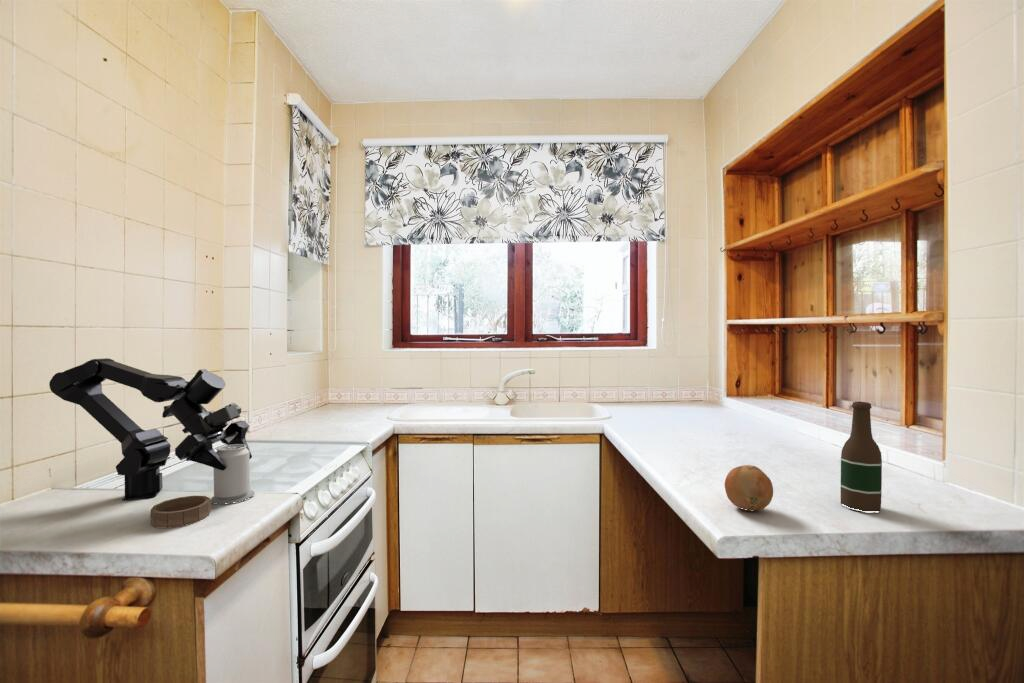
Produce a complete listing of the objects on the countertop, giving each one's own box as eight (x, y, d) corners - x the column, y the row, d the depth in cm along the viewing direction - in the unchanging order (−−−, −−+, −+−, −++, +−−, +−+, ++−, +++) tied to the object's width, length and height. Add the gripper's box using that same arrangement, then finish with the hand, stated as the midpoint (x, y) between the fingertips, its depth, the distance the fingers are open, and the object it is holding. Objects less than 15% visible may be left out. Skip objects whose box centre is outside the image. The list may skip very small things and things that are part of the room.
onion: (760, 502, 108) (760, 459, 108) (782, 518, 98) (782, 472, 98) (717, 501, 109) (718, 459, 109) (735, 517, 99) (735, 471, 99)
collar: (144, 531, 93) (144, 516, 93) (159, 513, 102) (158, 499, 102) (205, 522, 97) (205, 508, 97) (213, 506, 106) (213, 493, 106)
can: (247, 498, 109) (246, 448, 109) (210, 502, 107) (209, 451, 107) (252, 488, 116) (252, 441, 116) (218, 492, 114) (217, 444, 114)
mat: (207, 507, 106) (207, 504, 106) (214, 494, 114) (214, 492, 114) (252, 501, 109) (252, 498, 109) (256, 489, 118) (256, 487, 118)
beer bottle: (874, 503, 107) (875, 400, 107) (888, 516, 100) (890, 405, 99) (834, 500, 110) (835, 399, 109) (846, 511, 102) (847, 404, 102)
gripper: (186, 399, 102) (234, 450, 101) (242, 389, 121) (282, 432, 120) (153, 434, 103) (200, 484, 102) (213, 419, 122) (254, 461, 121)
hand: (238, 463), depth 111 cm, fingers open, 9 cm apart
